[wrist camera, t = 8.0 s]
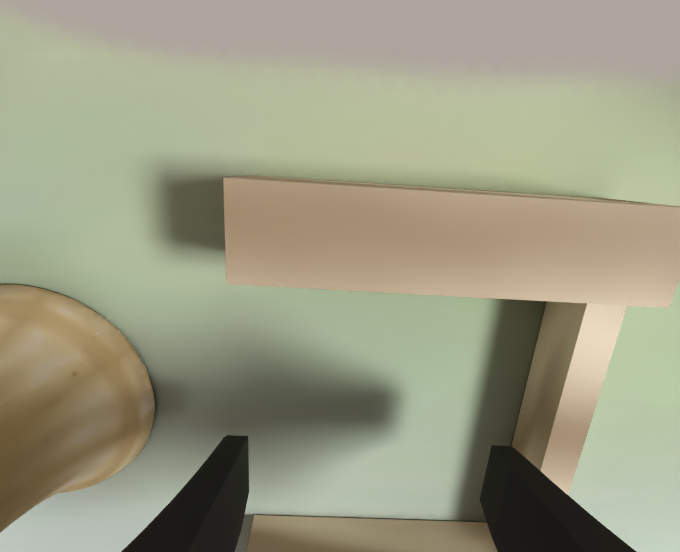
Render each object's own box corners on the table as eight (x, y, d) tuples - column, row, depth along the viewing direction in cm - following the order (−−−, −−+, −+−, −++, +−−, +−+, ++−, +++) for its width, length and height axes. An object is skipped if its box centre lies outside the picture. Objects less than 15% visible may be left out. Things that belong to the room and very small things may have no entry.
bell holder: (508, 566, 16) (547, 654, 13) (254, 559, 15) (236, 648, 13) (609, 198, 11) (704, 208, 8) (252, 175, 11) (222, 177, 8)
